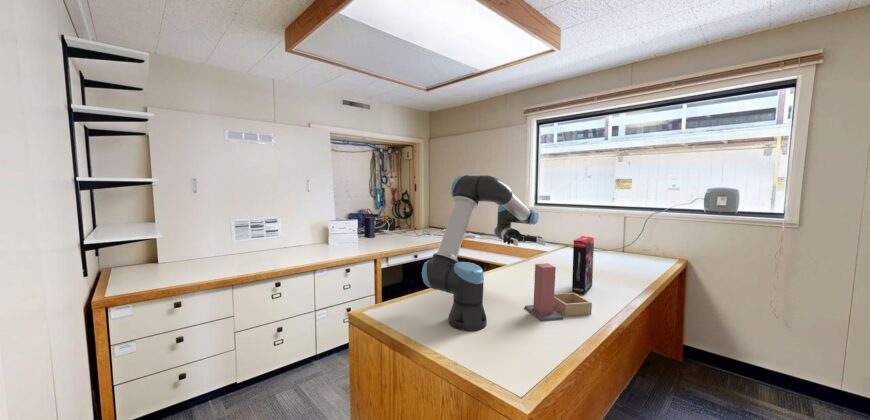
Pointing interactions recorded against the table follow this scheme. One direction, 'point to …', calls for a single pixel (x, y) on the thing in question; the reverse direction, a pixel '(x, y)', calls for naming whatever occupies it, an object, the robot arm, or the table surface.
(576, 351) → the table surface
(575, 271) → the graphics card box
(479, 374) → the table surface
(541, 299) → the pink rectangular block
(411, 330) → the table surface
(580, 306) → the hollow rectangular frame
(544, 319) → the rubber mat
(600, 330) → the table surface
